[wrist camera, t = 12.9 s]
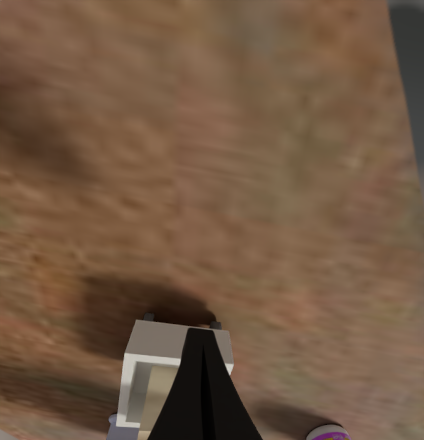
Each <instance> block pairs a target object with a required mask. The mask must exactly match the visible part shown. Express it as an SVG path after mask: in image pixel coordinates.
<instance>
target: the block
mask: <svg viewBox="0 0 424 440" xmlns="http://www.w3.org/2000/svg"><path fill="white" fill-rule="evenodd" d="M177 371H178V368H173V367H162V366H152V370H151V374H150V379H149V384H148V389H147V394H146V399H145V404H144V408H143V413H142V418H141V423H140V428H139V433H138V438H137V440H147V439H148V437H149V435H150V433H151V431H152V429H153V427H154V424H155V422H156V420H157V418H158V416H159V414H160V412H161V410H162V407H163V405H164V403H165V401H166V399H167V396H168V394H169V391H170V389H171V387H172V384H173V381H174V379H175V376H176V374H177Z"/></svg>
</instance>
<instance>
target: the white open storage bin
mask: <svg viewBox="0 0 424 440" xmlns="http://www.w3.org/2000/svg"><path fill="white" fill-rule="evenodd" d="M153 320H154V314H152V313H145V315H144V318H143V320H136V322H135V325H134V327H133V330H132V333H131V336H130V339H129V342H128V345H127V348H126V350H125V354H124V362H123V371H122V379H121V388H120V396H119V405H118V413H117V421H116V426H118V427H136V428H140V423H141V418H142V413H143V408H144V404H145V399H146V394H147V389H148V384H149V379H150V374H151V370H152V366H162V367H173V368H179V365H180V361H181V354H182V350H183V346H184V342H185V338H186V334H187V330H188V328H190V327H192V326H184V325H176V324H168V323H160V322H153ZM192 328H200V327H192ZM200 329H208V328H200ZM208 330H213V331H214V333H215V337H216V340H217V343H218V346H219V349H220V352H221V355H222V358H223V360H224V363H225V365H226V368H227V370H228V373H229V375H230V373H231V371H232V368H233V366H234V361H233V355H232V348H231V342H230V335H229V331H224V330H222V329H221V323H220V322H214V321H211V323H210V327H209V329H208Z"/></svg>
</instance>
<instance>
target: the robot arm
mask: <svg viewBox="0 0 424 440" xmlns="http://www.w3.org/2000/svg"><path fill="white" fill-rule="evenodd" d="M116 421H117V414H114V415H111V416H109V422H110V423H111V425H110V428H109V432H108V435H107V438H106V440H137V438H138V433H139V428H136V427H118V426H116ZM147 440H263V439H262V437H261V436H260V434H259V433H258V431H257V429H256V427H255V425H254V424H253V422H252V420H251V418H250V417H249V415H248V413H247V411H246V409H245V407H244V405H243V403H242V401H241V399H240V397H239V395H238V393H237V391H236V389H235V387H234V384H233V382H232V380H231V378H230V375H229V373H228V370H227V368H226V365H225V363H224V360H223V358H222V355H221V352H220V349H219V346H218V343H217V340H216V337H215V333H214V331H213V330H208V329H200V328H192V327H190V328H188V330H187V334H186V338H185V342H184V346H183V350H182V354H181V361H180V365H179V368H178V371H177V374H176V376H175V379H174V381H173V384H172V387H171V389H170V391H169V394H168V396H167V399H166V401H165V403H164V405H163V407H162V410H161V412H160V414H159V416H158V418H157V420H156V422H155V424H154V427H153V429H152V431H151V433H150V435H149V437H148V439H147Z"/></svg>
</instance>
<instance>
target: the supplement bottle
mask: <svg viewBox="0 0 424 440" xmlns="http://www.w3.org/2000/svg"><path fill="white" fill-rule="evenodd" d="M306 440H351V438H350V436H349V434H348V433H347V431H346V430H345V429H344V428H342V427H340V426H337V425H324V426H320V427H318V428H316V429H314V430H313V431H311V432H310V433H309V434H308V436H307V438H306Z"/></svg>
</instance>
